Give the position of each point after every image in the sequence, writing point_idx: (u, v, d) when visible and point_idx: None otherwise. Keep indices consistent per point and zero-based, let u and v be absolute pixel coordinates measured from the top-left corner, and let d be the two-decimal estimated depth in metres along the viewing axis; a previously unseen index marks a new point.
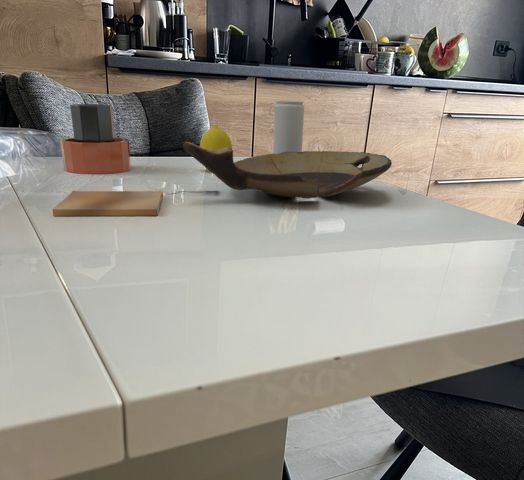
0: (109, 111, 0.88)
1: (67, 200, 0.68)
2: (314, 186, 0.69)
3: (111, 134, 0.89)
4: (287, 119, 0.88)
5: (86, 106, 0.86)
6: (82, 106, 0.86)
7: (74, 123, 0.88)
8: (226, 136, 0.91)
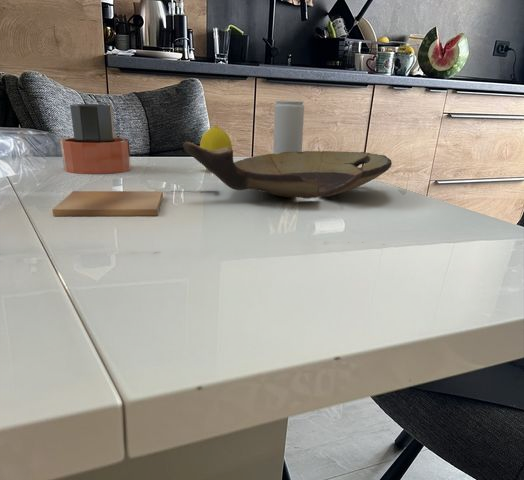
0: (109, 111, 0.88)
1: (67, 200, 0.68)
2: (314, 186, 0.69)
3: (111, 134, 0.89)
4: (287, 119, 0.88)
5: (86, 106, 0.86)
6: (82, 106, 0.86)
7: (74, 123, 0.88)
8: (226, 136, 0.91)
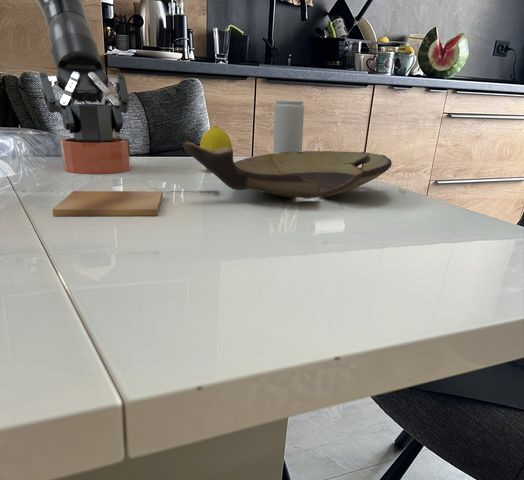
0: (109, 111, 0.88)
1: (67, 200, 0.68)
2: (314, 186, 0.69)
3: (111, 134, 0.89)
4: (287, 119, 0.88)
5: (86, 106, 0.86)
6: (82, 106, 0.86)
7: (74, 123, 0.88)
8: (226, 136, 0.91)
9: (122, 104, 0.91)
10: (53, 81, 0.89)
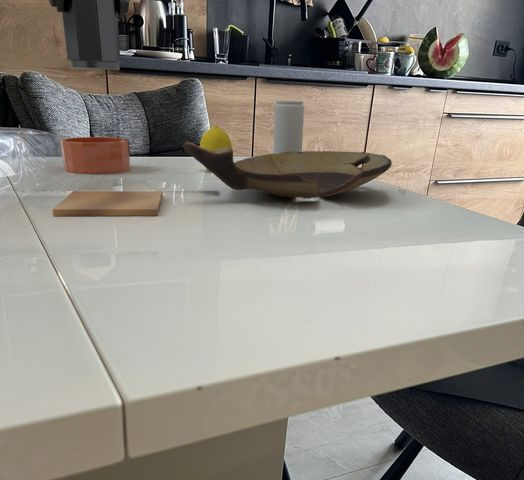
0: None
1: (67, 200, 0.68)
2: (314, 186, 0.69)
3: (113, 16, 0.66)
4: (287, 119, 0.88)
5: None
6: None
7: None
8: (226, 136, 0.91)
9: None
10: None
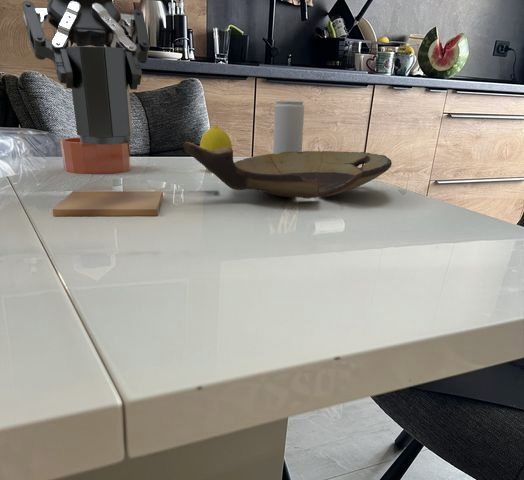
0: (122, 56, 0.61)
1: (67, 200, 0.68)
2: (314, 186, 0.69)
3: (125, 90, 0.63)
4: (287, 119, 0.88)
5: (89, 47, 0.59)
6: (84, 47, 0.59)
7: None
8: (226, 136, 0.91)
9: (140, 50, 0.65)
10: (42, 15, 0.62)
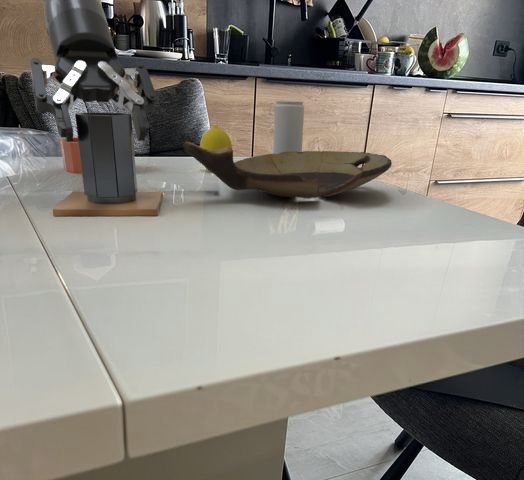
0: (128, 122, 0.65)
1: (67, 200, 0.68)
2: (314, 186, 0.69)
3: (130, 153, 0.66)
4: (287, 119, 0.88)
5: (97, 116, 0.62)
6: (92, 116, 0.62)
7: (80, 139, 0.64)
8: (226, 136, 0.91)
9: (148, 103, 0.68)
10: (49, 72, 0.65)
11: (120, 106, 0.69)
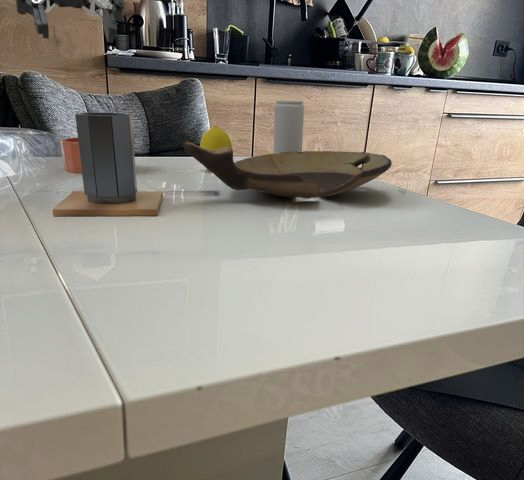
0: (128, 122, 0.65)
1: (67, 200, 0.68)
2: (314, 186, 0.69)
3: (130, 153, 0.66)
4: (287, 119, 0.88)
5: (97, 116, 0.62)
6: (92, 116, 0.62)
7: (80, 139, 0.64)
8: (226, 136, 0.91)
9: (116, 9, 0.77)
10: None
11: (92, 13, 0.78)
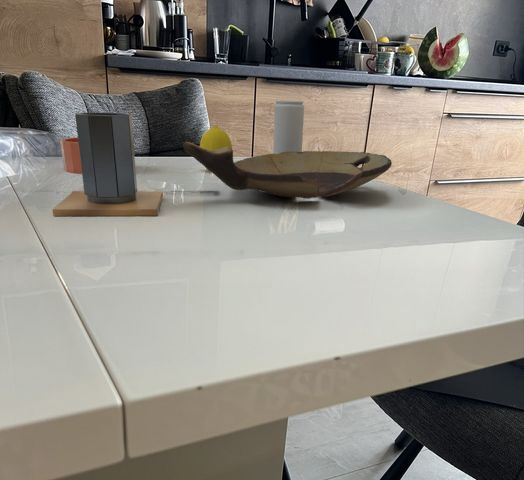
0: (128, 122, 0.65)
1: (67, 200, 0.68)
2: (314, 186, 0.69)
3: (130, 153, 0.66)
4: (287, 119, 0.88)
5: (97, 116, 0.62)
6: (92, 116, 0.62)
7: (80, 139, 0.64)
8: (226, 136, 0.91)
9: None
10: None
11: None
